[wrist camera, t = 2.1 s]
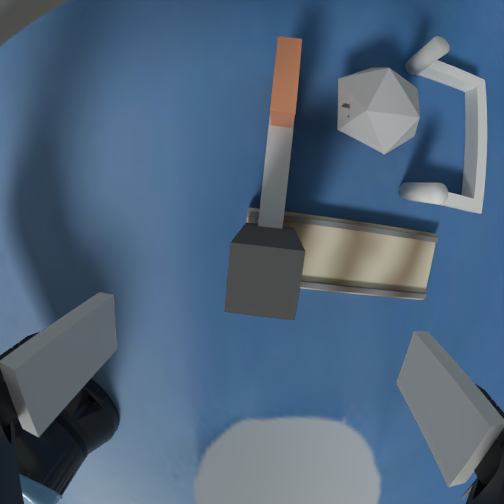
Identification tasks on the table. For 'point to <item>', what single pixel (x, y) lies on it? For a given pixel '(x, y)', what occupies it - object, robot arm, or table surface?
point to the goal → (475, 131)
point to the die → (378, 108)
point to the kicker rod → (271, 212)
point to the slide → (361, 256)
